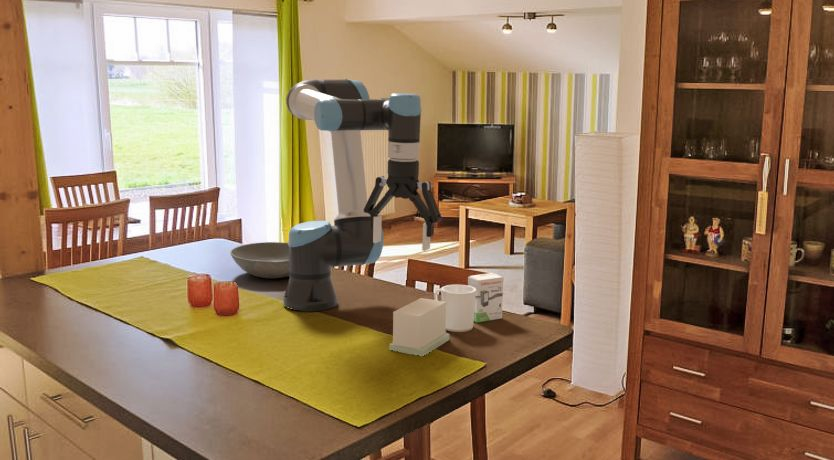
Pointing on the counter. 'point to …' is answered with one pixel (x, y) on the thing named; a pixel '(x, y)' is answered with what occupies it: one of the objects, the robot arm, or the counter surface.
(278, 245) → the bowl
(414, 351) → the header block
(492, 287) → the ink box
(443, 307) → the white rectangular block
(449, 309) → the mug
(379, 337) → the counter surface
